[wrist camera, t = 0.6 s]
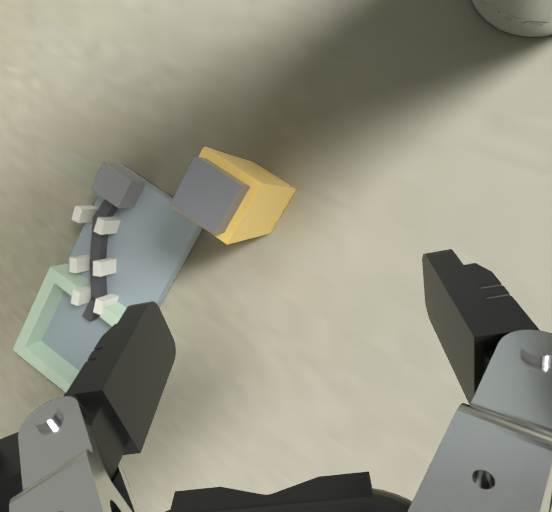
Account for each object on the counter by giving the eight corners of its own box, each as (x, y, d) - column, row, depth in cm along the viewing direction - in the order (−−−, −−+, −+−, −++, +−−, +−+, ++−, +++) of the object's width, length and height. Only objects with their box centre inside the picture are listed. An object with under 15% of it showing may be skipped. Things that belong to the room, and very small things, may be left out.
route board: (122, 161, 34) (96, 157, 31) (208, 219, 33) (190, 220, 30) (39, 338, 39) (10, 350, 36) (111, 395, 38) (87, 412, 34)
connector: (253, 162, 31) (191, 142, 21) (296, 189, 31) (253, 182, 21) (228, 206, 32) (158, 207, 22) (269, 233, 32) (216, 247, 22)
